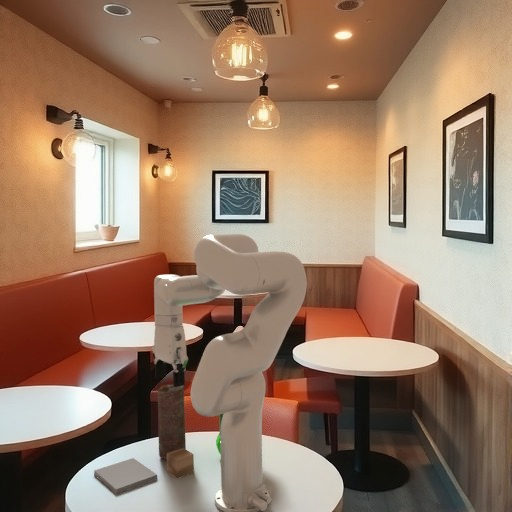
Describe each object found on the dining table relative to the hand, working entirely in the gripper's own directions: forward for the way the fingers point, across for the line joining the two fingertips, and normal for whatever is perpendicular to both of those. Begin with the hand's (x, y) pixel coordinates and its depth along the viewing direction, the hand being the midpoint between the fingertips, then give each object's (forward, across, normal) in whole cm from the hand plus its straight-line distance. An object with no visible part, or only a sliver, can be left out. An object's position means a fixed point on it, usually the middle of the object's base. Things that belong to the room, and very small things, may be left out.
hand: (169, 381), depth 144 cm
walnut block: (+21, -10, +3) cm, 23 cm away
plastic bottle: (+21, -12, -13) cm, 27 cm away
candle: (+21, -1, 0) cm, 21 cm away
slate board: (+21, -3, +15) cm, 26 cm away
